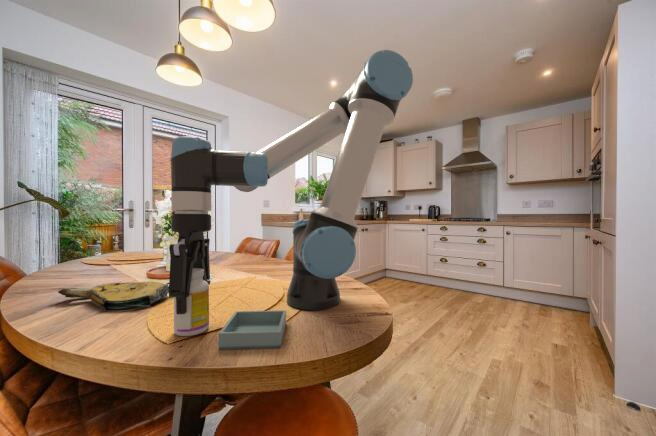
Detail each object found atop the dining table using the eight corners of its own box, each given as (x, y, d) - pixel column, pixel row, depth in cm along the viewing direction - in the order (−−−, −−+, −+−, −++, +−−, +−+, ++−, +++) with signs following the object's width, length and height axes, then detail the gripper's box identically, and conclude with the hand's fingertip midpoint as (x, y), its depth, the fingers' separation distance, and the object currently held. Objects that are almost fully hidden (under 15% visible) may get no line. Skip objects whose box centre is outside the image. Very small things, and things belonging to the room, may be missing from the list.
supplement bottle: (213, 330, 57) (213, 270, 57) (179, 341, 52) (178, 275, 52) (202, 321, 62) (202, 265, 62) (170, 330, 57) (170, 270, 57)
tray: (285, 323, 61) (286, 310, 61) (280, 348, 50) (280, 332, 50) (235, 324, 60) (235, 311, 60) (218, 349, 49) (218, 333, 49)
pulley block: (88, 273, 83) (181, 275, 80) (91, 290, 84) (183, 294, 81) (36, 293, 69) (146, 297, 66) (40, 314, 70) (149, 319, 67)
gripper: (193, 212, 66) (193, 305, 67) (144, 212, 47) (145, 344, 47) (224, 213, 67) (224, 305, 67) (189, 212, 47) (189, 342, 47)
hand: (191, 321), depth 57 cm, fingers closed on supplement bottle, 7 cm apart
